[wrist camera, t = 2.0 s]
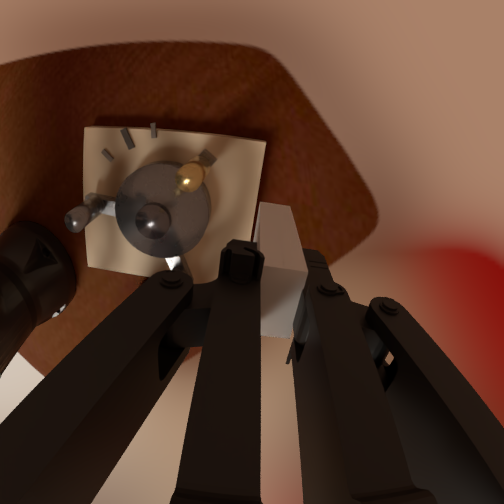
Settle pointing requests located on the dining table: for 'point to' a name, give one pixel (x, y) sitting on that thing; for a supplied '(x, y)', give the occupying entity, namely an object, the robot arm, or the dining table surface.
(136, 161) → the stand
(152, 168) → the cam capstan
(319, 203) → the dining table surface
